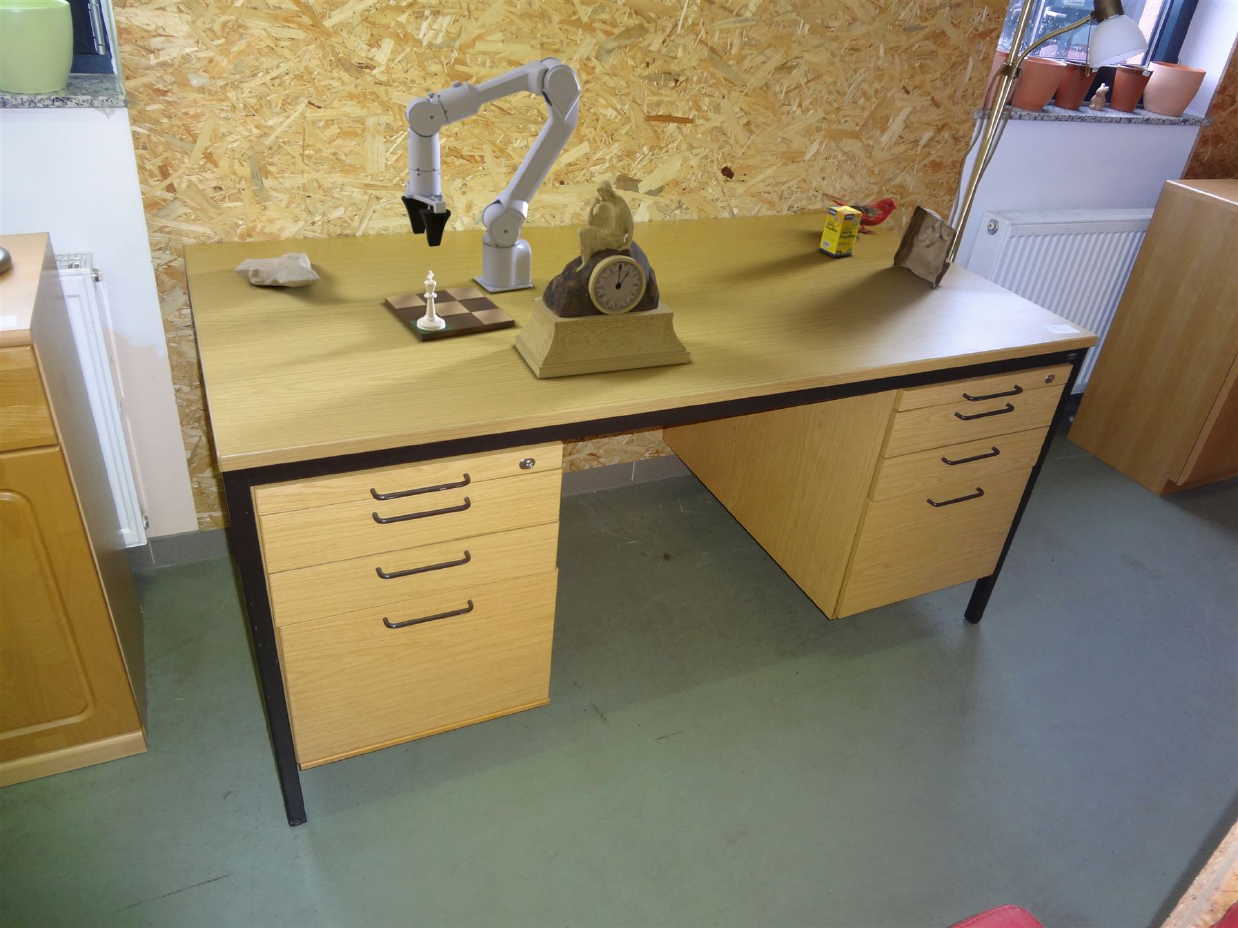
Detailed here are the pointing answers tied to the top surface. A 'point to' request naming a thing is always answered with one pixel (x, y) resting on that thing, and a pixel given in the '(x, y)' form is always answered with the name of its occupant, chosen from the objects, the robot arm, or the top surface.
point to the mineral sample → (926, 245)
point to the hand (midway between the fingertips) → (426, 239)
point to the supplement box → (840, 231)
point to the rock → (279, 271)
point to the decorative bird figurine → (873, 212)
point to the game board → (450, 312)
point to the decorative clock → (601, 304)
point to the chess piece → (430, 308)
